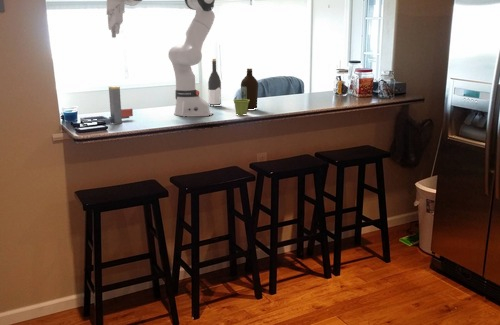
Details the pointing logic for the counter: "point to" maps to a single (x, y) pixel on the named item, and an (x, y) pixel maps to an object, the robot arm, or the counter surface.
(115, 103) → the pin
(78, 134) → the counter surface
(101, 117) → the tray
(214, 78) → the wine bottle
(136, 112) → the counter surface
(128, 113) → the crank lever
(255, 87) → the olive oil
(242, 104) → the plant pot
